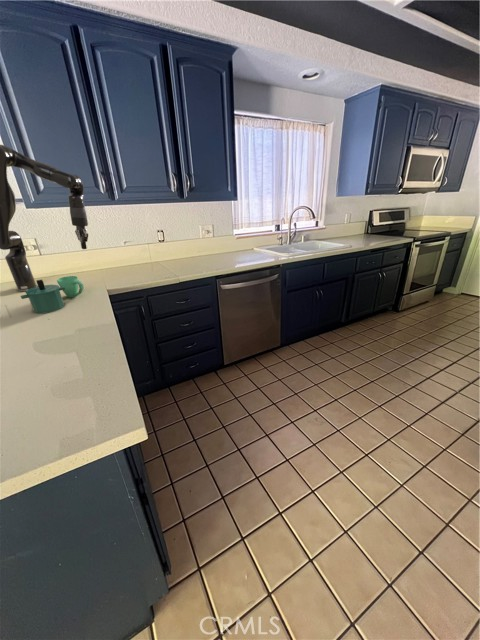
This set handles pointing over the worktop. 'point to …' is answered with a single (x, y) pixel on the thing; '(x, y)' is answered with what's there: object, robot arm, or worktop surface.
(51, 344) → the worktop surface
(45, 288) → the pot lid
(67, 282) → the mug
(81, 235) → the robot arm
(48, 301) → the pot
